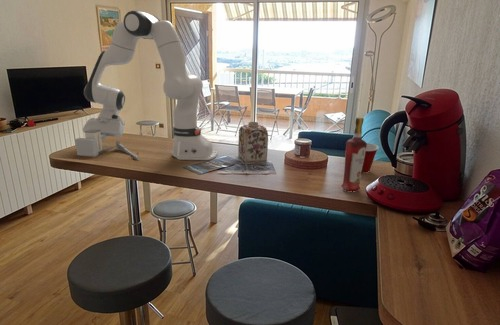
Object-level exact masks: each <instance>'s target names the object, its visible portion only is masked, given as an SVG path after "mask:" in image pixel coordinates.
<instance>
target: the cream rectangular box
mask: <svg viewBox="0 0 500 325" xmlns="http://www.w3.org/2000/svg"><path fill="white" fill-rule="evenodd" d="M101 137H102V136H101V130H96V129H90V130H87V131H85V133H84V138H88V139H97V147H98V152H100V151H102V150H104V147H103V141H102V138H101Z"/></svg>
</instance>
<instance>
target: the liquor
mask: <svg viewBox="0 0 500 325" xmlns="http://www.w3.org/2000/svg"><path fill="white" fill-rule="evenodd" d="M363 125H364V117H357V116H356V117H355V126H354V132H353V137H352V138H350V139H348V140H346V142H345V153H344V154H345V155H344V166H343V167H344V172H343V182H342V184H341V188H343V190H344V191H345V190H346V192H347V191H352V192H351V193H354V192H353V191H356V192H358V191H359V190H360V189H361V187H360V182H361V176H362V173H361V172H362V167H363V162H364V157H365V152H366V147H367V143H368V142H366V141H365V140H363V139H362V131H363Z"/></svg>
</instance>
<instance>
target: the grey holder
mask: <svg viewBox="0 0 500 325" xmlns="http://www.w3.org/2000/svg"><path fill="white" fill-rule="evenodd" d="M74 141H75V148H76V149H75V150H76V155H77V156H81V157H82V156H83V157H94V158H95V157H98V156H99V155H100V154H102V153H104V152H106V151H108V150H110V149H112V148H114V147H115V145H111V146H109V147H107V148H105V149H104V148H103V150H102V151H100V152H98V147H97V139H88V138H85V137H78V138H77V137H76V138H75V139H74Z"/></svg>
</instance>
